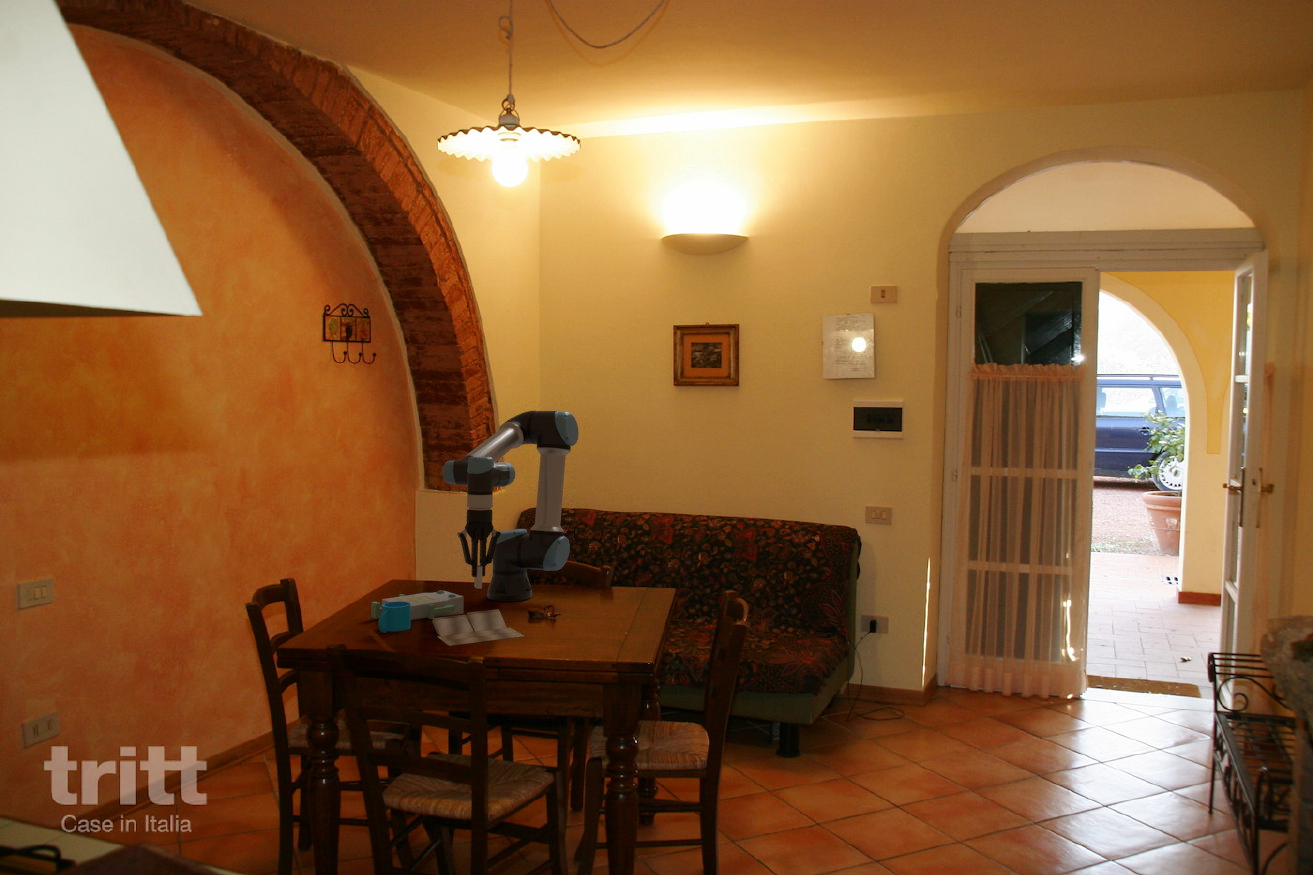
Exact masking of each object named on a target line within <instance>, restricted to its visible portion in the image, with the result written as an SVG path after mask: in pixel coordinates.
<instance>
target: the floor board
mask: <svg viewBox="0 0 1313 875" xmlns="http://www.w3.org/2000/svg"><path fill="white" fill-rule="evenodd" d="M520 637H525V635H524V634H522V633H520V632H519V631H517V630H515V629H514V628H512V627H507V628H501V629H493V630H485V631H477V632H475V631H474V632H469V633H460V634H452V635H444V636H440V635H438V636H437V638H438V639H440V640H441V641H442V642H444V643H445V644H446V645H447V646H458V645H459V646H460V645H466V644H467V645H468V644H473V643H483V642H488V641H489V642H490V641H495V640H496V641H498V640H504V639H505V640H506V639H514V638H520Z"/></svg>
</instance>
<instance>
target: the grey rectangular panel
mask: <svg viewBox="0 0 1313 875" xmlns="http://www.w3.org/2000/svg"><path fill="white" fill-rule="evenodd" d="M466 617H467V619H468V621H469V623H470V625H471V627H472V629H473V631H474V632H478V631H486V630H494V629H502V628H508V627H507V624H506V623H505V620H504V618H503V616H502V614H501V611H500V609H490V610H481V611H480V610H479V611H472V612H471V611H470V612H467V613H466Z"/></svg>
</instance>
